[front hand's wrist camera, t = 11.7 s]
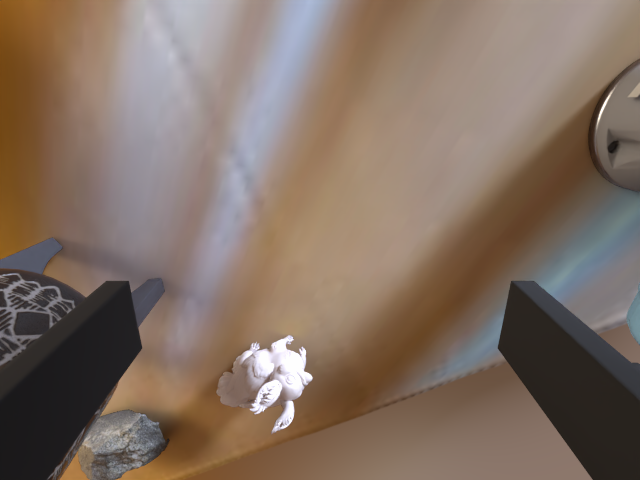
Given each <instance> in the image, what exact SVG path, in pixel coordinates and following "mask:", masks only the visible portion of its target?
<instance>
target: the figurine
mask: <svg viewBox="0 0 640 480" xmlns="http://www.w3.org/2000/svg"><path fill="white" fill-rule="evenodd" d="M293 340H294V339H292V336H290V335H288V336H287V337H286V338H284V339H281V340H278V341H277V342H274V343H272V345H271V346H270V348H267V349H263V350H259V351H257V350H258V349H259V348H260V347H258V346H259V344H257V345H256V343H255V344H254V346H253V344H251V347H250V349H249V351H245V352H244V353H242V355H240V356H238V358H236V361H235V362H234V363H233V366H234V367H233V368H232V370H233V373H230V372H224V373H223V375H222V377H221V378H220V379H219V383H218V389H217V392H216V393H217V395H219V396H221V398H220V401H221V403H222V404H224V405H229V406H230V407H238V406H239V407H242V408H253V409H250V410H251V411H253V412H255V411H257V410H258V411H257V412H256V413H254V414H259V413H260V412H261V411H263V412H264V409H266V408H268V407H274V406H278V405H282V407H283V412H282V414H281V415H280V417H279V418H278V419H277V420H276V422H275V424H274V428H273V430H272V431H271V434H272V433H273V432H274V433H276V431H277V430H278V431H279V430H282V429H284V428H286V427H287V426H288V425H289V424H290V423H291V422H292V420H293V417H294V405H293V402H292V400H295V399H297V398H299V397H300V395H301V393H302V391H303V389H304V387H305V386H306V385H308V383H310V382H311V381H312V376H311V375H310V374H309V373H307V372H304V368H305V364H306V357H305V355H306V350H305V349H303V348H302V347H301V349H302V351H301V349H299V351H300V355H299V354H297V353H295V352H293V351H290V350H287V349H286V344H291V343H290V342H291V341H293ZM255 346H256V347H255ZM257 347H258V348H257ZM248 400H250V401H248Z"/></svg>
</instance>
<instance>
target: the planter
mask: <svg viewBox="0 0 640 480" xmlns="http://www.w3.org/2000/svg"><path fill="white" fill-rule="evenodd" d="M62 248H63V247H62V246H61V245H60V244H59V243H58V242H57V241H56V240H55V239H54V238H50V239H48V240H45V241H43V242H41V243H38V244H36V245H34V246H31V247H29V248H27V249H24V250H22V251H20V252H17V253H15V254H13V255H10V256H8V257H6V258H4V259H1V260H0V366H1V365H2V364H8V363H9V362H10V361H12V360H13V359H14V358H15V357H16V356H17V355H19V354H20V353H21V352H22V351H23V350H25V349H26V348H27V347H28V346H29V345H31V344H32V343H33V342H34V341H35V340H37V339H38V338H39V337H40V336H41V335H43V334H44V333H45V332H46V331H47V330H49V329H50V328H51V327H52V326H53V325H55V324H56V323H57V322H58V321H59V320H60V319H62V318H63V317H64V316H65V315H66V314H68V313H69V312H70V311H71V310H72V309H74V308H75V307H76V306H77V305H78V304H80V303H81V302H82V301H83V300H84V299H86V297H85V296H83V295H82V294H81V293H79V292H78V291H76V290H75V289H73V288H71V287H70V286H68V285H66V284H64V283H62V282H60V281H58V280H56V279H54V278H51V277H48V276H45V275H42V273H43V270H44V268H45V266H46V265H47V263H48V261H49V260H50V259H51V258H52V257H53V256H54V255H55V254H56V253H58V252H59V251H60V250H61V249H62ZM164 292H165V290H164V287H163V283H162V280H161V278H157V279H148V280H147V281H146V282H145V283H144V284H142V285H141V286H140V287H139V288H137V289H136V290H135V291H133V292H132V293H131V295H132V300H133V305H134V310H135V315H136V320H137V325H138V327H139V326H140V324H141V323H142V322H143V320H144V319H145V318H146V316H147V315H148V313H149V312H150V311H151V309H152V308H153V307H154V305H155V304H156V303H157V301H158V300H159V298H160V297H161V296H162V294H163V293H164ZM118 382H119V381H118ZM118 382H117V384H116V385H115V386H114V388H113V389H112V391H111V392H110V393H109V395H108V396H107V398H106V399H105V400H104V402H103V403H102V404H101V406H100V407H99V409H98V410H97V411H96V413H95V414H94V416H93V417H92V418H91V420H90V421H89V422H88V424H87V425H86V427H85V428H84V429H83V431H82V432H81V434H80V435H79V436H78V438H77V439H76V440H75V442H74V443H73V445H72V446H71V447H70V449H69V450H68V451H67V453H66V454H65V456H64V457H63V458H62V460H61V461H60V463H59V464H58V465H57V467H56V468H55V469H54V471H53V472H52V474H51V475H50V476H49V478H48V479H47V480H60V478H61V477H62V475H63V474H64V472H65V470H66V469H67V467H68V466H69V464H70V463H71V461H72V459H73V458H74V456H75V455H76V453H77V451H78V450H79V448H80V447H81V445H82V443H83V442H84V440H85V439H86V437H87V436H88V434H89V432H90V431H91V429H92V428H93V426H94V424H95V423H96V421H97V420H98V418H99V417H100V415H101V413H102V412H103V410H104V409H105V407H106V405H107V404H108V402H109V401H110V399H111V397H112V395H113V393H114V392H115V390H116V388H117V385H118Z"/></svg>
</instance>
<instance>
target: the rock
mask: <svg viewBox="0 0 640 480" xmlns="http://www.w3.org/2000/svg"><path fill="white" fill-rule="evenodd" d="M140 417H141V418H140ZM139 418H140V419H139ZM168 442H169V439H167V441H166V443H165V439H164V438H163V435H162V432H161V430H160V428H159V423H158V422H153V421H150V420H149V419H148V418H147V417H146V415H145V414H142V415H141V414H140V413H135V412H134V411H132V410H123V411H119V412H118V411H117V412H114V413H111V414H108V415H105V416H101V417H99V418H98V420H97V421H96V423H95V424H94V426H93V428H92V429H91V431H90V432H89V434H88V436H87V437H86V439H85V440H84V442H83V443H82V445H81V447H80V448H79V450H78V457H79V462H80V464H81V470H82V471H83V472H84V473H85V474H86V476H87V478H88V479H90V480H115V479H118V478H121V477H122V475H123V474H124V473H125V472H126V471H129V470H132V469H135V468H139V467H141V466H144V465H146V464H147V463H149V462H151V461H152V460H154V459H155V458H157V457H158V456H159V455H160V454H161V452H162V451H164V450H165V448H166V447H167V445H168Z"/></svg>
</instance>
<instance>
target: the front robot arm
mask: <svg viewBox="0 0 640 480" xmlns="http://www.w3.org/2000/svg"><path fill="white" fill-rule="evenodd" d="M589 150H590V155H591V158H592V161H593V163H594V165H595V167H596V168H597V170H598V171H599V173H600V174H601V175H602V176H603V177H604V178H605V179H607V180H608V181H609V182H611V183H613V184H615V185H617V186H619V187H623V188H626V189H630V190H633V191H639V192H640V59H638V60H637V61H635V62H634V63H632V64H631V65H630V66H628V67H627V68H626V69H625V70H623V71H622V72H621V73H620V74H619V75H618V76H617V77H616V78H615V79H614V80H613V82H612V83H611V84H610V85H609V86H608V88H607V89H606V91H605V92H604V93H603V95H602V97H601V98H600V100H599V102H598V104H597V106H596V108H595V111H594V113H593V116H592V120H591V124H590V128H589ZM627 323H628V326H629V328H630V331H631V334H632V336H633V337H634V339H635V340H636V341H637V343H638V344H639V345H640V283H639V286H638V293H637V295H636V297H635V299H634V300H633V302H632V304H631V306H630V308H629V310H628V313H627ZM141 349H142V345H141V340H140V335H139V330H138V325H137V320H136V315H135V310H134V305H133V300H132V295H131V290H130V285H129V281H106V282H105V283H103V284H102V285H101V286H100V287H99V288H98V289H96V290H95V291H94V292H93V293H92V294H90V295H89V296H88V297H87V298H86V299H84V300H83V301H82V302H81V303H80V304H78V305H77V306H76V307H75V308H74V309H72V310H71V311H70V312H69V313H68V314H66V315H65V316H64V317H63V318H62V319H60V320H59V321H58V322H57V323H56V324H55V325H53V326H52V327H51V328H50V329H49V330H47V331H46V332H45V333H44V334H43V335H41V336H40V337H39V338H38V339H37V340H35V341H34V342H33V343H32V344H31V345H29V346H28V347H27V348H26V349H25V350H23V351H22V352H21V353H20V354H19V355H17V356H16V357H15V358H14V359H13V360H12V361H10V362H9V363H8V364H2V365H1V366H0V480H47V479H48V478H49V476H50V475H51V474H52V472H53V471H54V469H55V468H56V467H57V465H58V464H59V463H60V461H61V460H62V458H63V457H64V456H65V454H66V453H67V451H68V450H69V449H70V447H71V446H72V445H73V443H74V442H75V440H76V439H77V438H78V436H79V435H80V434H81V432H82V431H83V429H84V428H85V427H86V425H87V424H88V422H89V421H90V420H91V418H92V417H93V416H94V414H95V413H96V411H97V410H98V409H99V407H100V406H101V404H102V403H103V402H104V400H105V399H106V398H107V396H108V395H109V393H110V392H111V391H112V389H113V388H114V386H115V385H116V384H117V382H118V381H119V380H120V378H121V377H122V375H123V374H124V373H125V371H126V370H127V369H128V367H129V366H130V364H131V363H132V362H133V360H134V359H135V357H136V356H137V355H138V353H139V352H140V351H141ZM498 349H499V351H500V352H501V353H502V355H503V356H504V357H505V359H506V360H507V362H508V363H509V364H510V366H511V367H512V368H513V370H514V371H515V373H516V374H517V375H518V377H519V378H520V380H521V381H522V382H523V384H524V385H525V386H526V388H527V389H528V391H529V392H530V393H531V395H532V396H533V398H534V399H535V400H536V402H537V403H538V404H539V406H540V407H541V409H542V410H543V411H544V413H545V414H546V416H547V417H548V418H549V420H550V421H551V422H552V424H553V425H554V427H555V428H556V429H557V431H558V432H559V434H560V435H561V436H562V438H563V439H564V440H565V442H566V443H567V445H568V446H569V447H570V449H571V450H572V451H573V453H574V454H575V456H576V457H577V458H578V460H579V461H580V462H581V464H582V465H583V467H584V468H585V469H586V471H587V472H588V474H589V475H590V476H591V478H592V479H593V480H640V364H639V363H631V362H630V361H628V360H627V359H626V358H625V357H624V356H623V355H621V354H620V353H619V352H618V351H617V350H615V349H614V348H613V347H612V346H611V345H609V344H608V343H607V342H606V341H605V340H603V339H602V338H601V337H600V336H599V335H597V334H596V333H595V332H594V331H593V330H591V329H590V328H589V327H588V326H587V325H585V324H584V323H583V322H582V321H581V320H580V319H578V318H577V317H576V316H575V315H574V314H572V313H571V312H570V311H569V310H568V309H566V308H565V307H564V306H563V305H562V304H560V303H559V302H558V301H557V300H556V299H554V298H553V297H552V296H551V295H550V294H548V293H547V292H546V291H545V290H544V289H542V288H541V287H540V286H539V285H538V284H537V283H535V282H534V281H511V285H510V290H509V295H508V300H507V305H506V310H505V315H504V320H503V325H502V330H501V335H500V340H499V345H498Z"/></svg>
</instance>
